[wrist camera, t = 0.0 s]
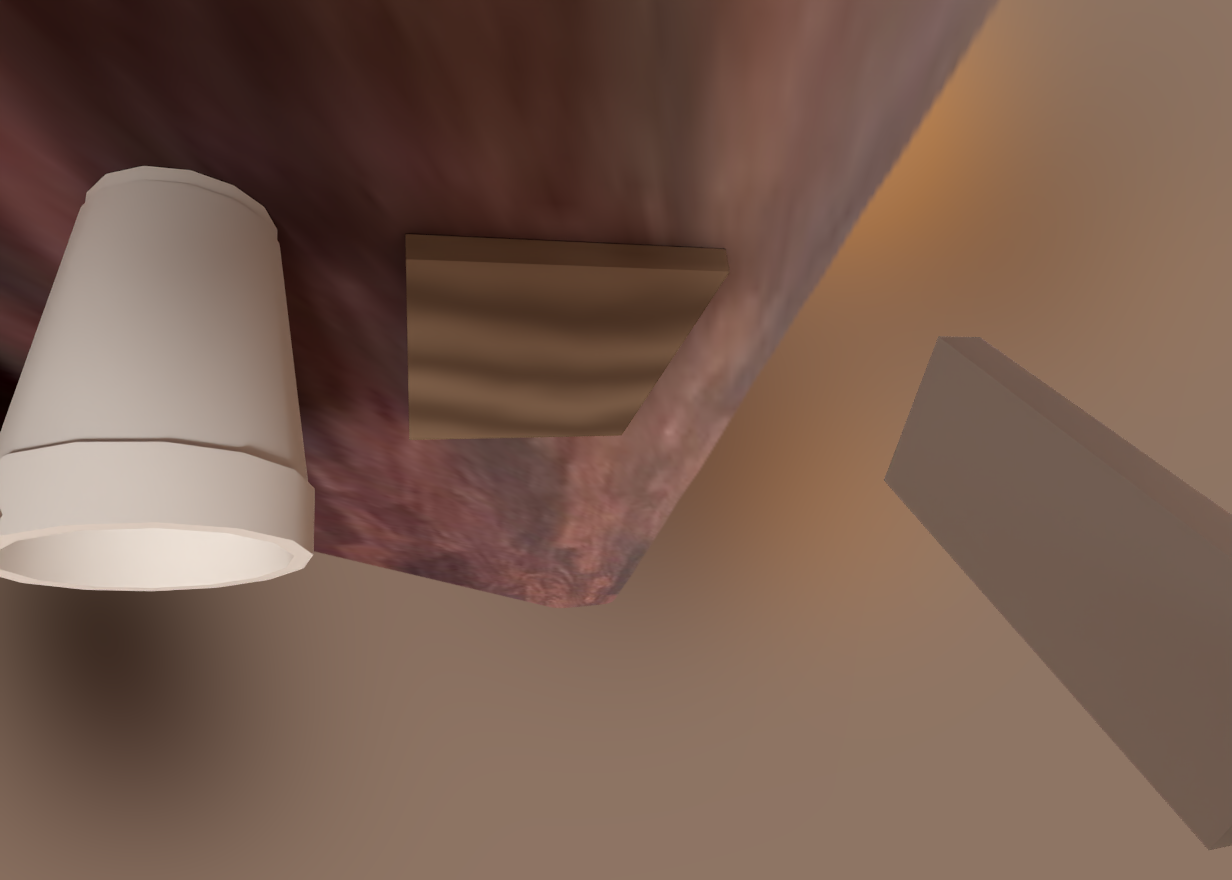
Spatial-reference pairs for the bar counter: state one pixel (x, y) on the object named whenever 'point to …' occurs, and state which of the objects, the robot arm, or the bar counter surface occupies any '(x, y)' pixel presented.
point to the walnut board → (544, 332)
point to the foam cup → (159, 400)
